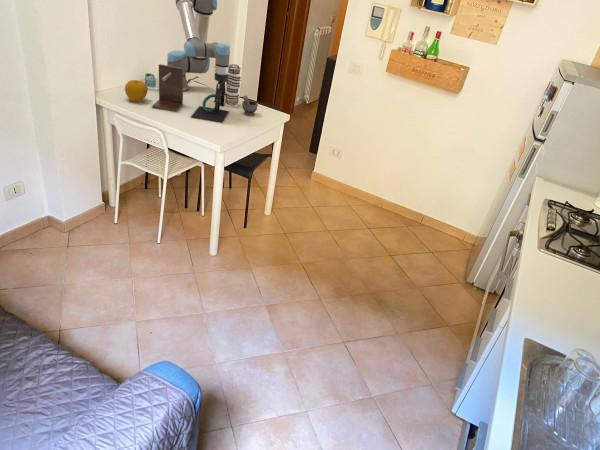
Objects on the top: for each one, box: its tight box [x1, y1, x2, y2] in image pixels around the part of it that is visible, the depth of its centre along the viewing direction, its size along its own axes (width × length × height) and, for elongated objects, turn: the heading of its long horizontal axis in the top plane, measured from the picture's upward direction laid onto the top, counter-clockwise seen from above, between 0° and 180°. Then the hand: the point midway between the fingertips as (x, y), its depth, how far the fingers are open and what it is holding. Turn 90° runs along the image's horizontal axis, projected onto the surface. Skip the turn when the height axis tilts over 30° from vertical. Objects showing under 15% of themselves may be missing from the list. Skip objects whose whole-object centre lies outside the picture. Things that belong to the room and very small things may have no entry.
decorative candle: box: [224, 63, 242, 108], centre depth 273 cm, size 9×9×25 cm
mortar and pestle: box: [241, 95, 259, 116], centre depth 267 cm, size 11×9×12 cm
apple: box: [124, 79, 149, 103], centre depth 255 cm, size 13×13×11 cm
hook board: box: [152, 63, 184, 113], centre depth 252 cm, size 15×14×22 cm
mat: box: [190, 105, 229, 123], centre depth 258 cm, size 20×18×1 cm
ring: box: [201, 93, 221, 113], centre depth 259 cm, size 2×12×12 cm
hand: (219, 109), depth 256 cm, fingers open, 13 cm apart
